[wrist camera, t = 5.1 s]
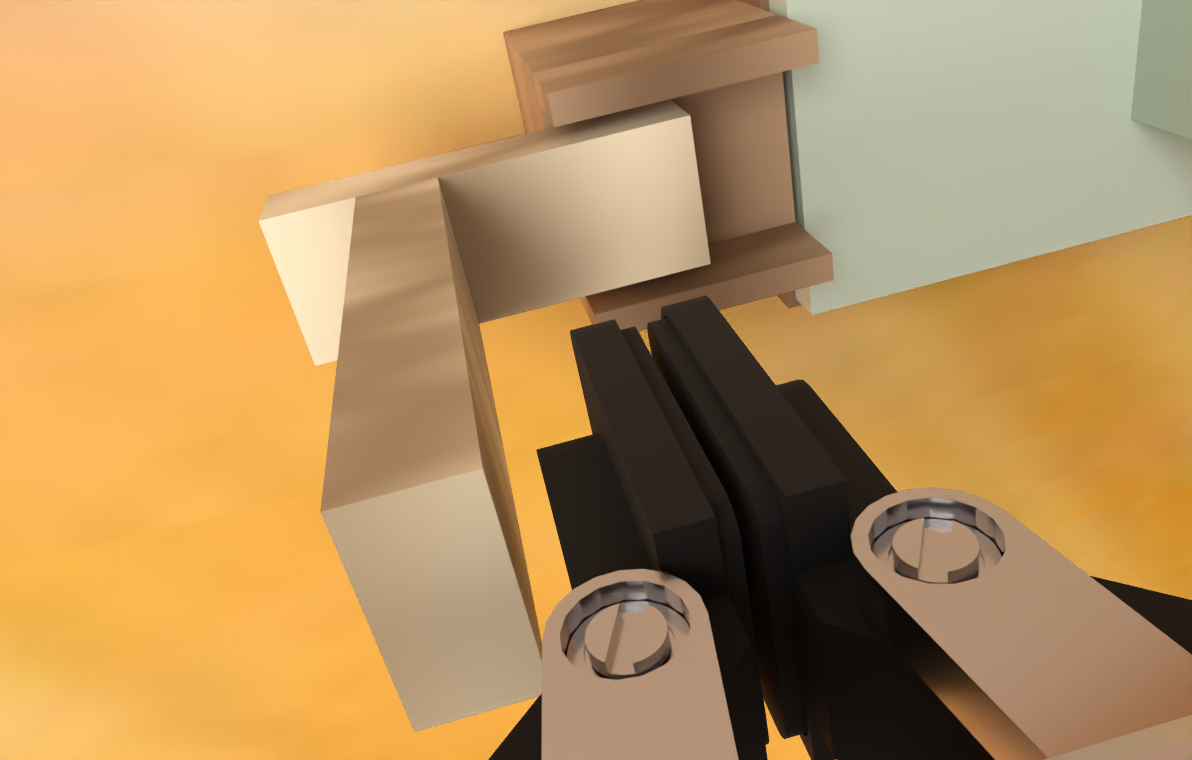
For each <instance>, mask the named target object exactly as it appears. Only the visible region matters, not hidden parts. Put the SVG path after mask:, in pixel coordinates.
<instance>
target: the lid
mask: <svg viewBox="0 0 1192 760" xmlns="http://www.w3.org/2000/svg"><path fill="white" fill-rule="evenodd" d="M769 8H770V12H771V13H774V14H777V15H780V16H782V17H785V18H788V19H791V20H794V21H797V22H799V23H802V24H805V25H808V26H811V27H813V28H816V29H817V35H818V49H819V63H817V64H813V65H808V66H804V67H800V68H796V69H792V70H788V71H784V72H782V74H783V85H784V97H785V108H786V120H787V131H788V143H789V154H790V166H791V177H792V189H793V200H794V212H795V222H796V223H797V224H798V225H800V226H801V227H802V228H803V229H804V230H805V231H807V232H808V233H809V234H810V235H811V236H813V237H814V238H815V239H816V240H817V241H818V242H820V243H821V244H822V245H823V246H824V247H825V248H827V249H828V250H829V251H830V252H831V253H832V257H833V272H834V280H832V281H828V282H824V283H821V284H817V285H813V286H809V287H805V288H802V289H798V290H795V295H796V299H797V300H798V302H799V303H800V304H801V305H802V306H803V307H804V308H805V309H806V310H807V311H808V312H809V313H810V314H811V315H815V314H819V313H823V312H827V311H830V310H834V309H838V308H842V307H846V306H849V305H853V304H857V303H861V302H865V301H868V300H872V299H876V298H880V297H884V296H887V295H891V294H895V293H899V292H902V291H906V290H910V289H914V288H918V287H921V286H925V285H929V284H933V283H937V282H940V281H944V280H948V279H952V278H955V277H959V276H963V275H967V274H971V273H974V272H978V271H982V270H986V269H990V268H993V267H997V266H1001V265H1005V264H1009V263H1012V262H1016V261H1020V260H1024V259H1027V258H1031V257H1035V256H1039V255H1043V254H1046V253H1050V252H1054V251H1058V250H1062V249H1065V248H1069V247H1073V246H1077V245H1081V244H1084V243H1088V242H1092V241H1096V240H1099V239H1103V238H1107V237H1111V236H1115V235H1118V234H1122V233H1126V232H1130V231H1134V230H1137V229H1141V228H1145V227H1149V226H1152V225H1156V224H1160V223H1164V222H1168V221H1171V220H1175V219H1179V218H1183V217H1187V216H1190V215H1192V0H769Z"/></svg>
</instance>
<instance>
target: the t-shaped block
mask: <svg viewBox="0 0 1192 760" xmlns="http://www.w3.org/2000/svg"><path fill="white" fill-rule="evenodd" d="M259 223H260V226H261V228H262V231H263V234H264V236H265V239H266V241H267V244H268V246H269V249H270V251H271V254H272V257H273V259H274V262H275V264H276V267H277V269H278V272H279V274H280V277H281V280H282V282H283V285H284V287H285V290H286V292H287V295H288V297H289V300H290V303H291V305H292V308H293V310H294V313H295V315H296V318H297V320H298V323H299V326H300V328H301V331H302V333H303V336H304V338H305V341H306V343H307V346H308V349H309V351H310V354H311V356H312V359H313V361H314V364H315V366H316V365H320V364H324V363H328V362H332V361H336V360H337V369H336V378H335V387H334V396H333V405H332V414H331V423H330V432H329V441H328V450H327V459H326V468H325V477H324V486H323V495H322V504H321V514H322V516H323V519H324V521H325V523H326V526H327V528H328V530H329V533H330V535H331V538H332V540H333V542H334V545H335V547H336V549H337V552H338V554H339V556H340V559H341V561H342V563H343V566H344V568H345V570H346V573H347V575H348V577H349V580H350V582H351V584H352V587H353V589H354V591H355V594H356V596H357V598H358V601H359V603H360V605H361V608H362V610H363V613H364V615H365V617H366V620H367V622H368V624H369V627H370V629H371V631H372V634H373V636H374V638H375V641H376V643H377V645H378V648H379V650H380V652H381V655H382V657H383V659H384V662H385V664H386V666H387V669H388V671H389V673H390V676H391V678H392V681H393V683H394V685H395V688H396V690H397V692H398V695H399V697H400V699H401V702H402V704H403V706H404V709H405V711H406V713H407V716H408V718H409V720H410V723H411V725H412V727H413V730H414V732H417V731H421V730H424V729H428V728H431V727H435V726H438V725H442V724H445V723H449V722H452V721H455V720H459V719H462V718H466V717H469V716H473V715H476V714H480V713H483V712H487V711H490V710H494V709H497V708H500V707H504V706H507V705H511V704H514V703H518V702H521V701H525V700H528V699H532V698H535V697H539V696H540V695H541V693H542V642H541V637H540V631H539V626H538V621H537V616H536V611H535V606H534V601H533V596H532V591H531V586H530V581H529V576H528V570H527V565H526V560H525V555H524V550H523V545H522V540H521V535H520V530H519V525H518V520H517V515H516V509H515V504H514V499H513V494H512V489H511V484H510V479H509V474H508V469H507V464H506V459H505V454H504V448H503V443H502V438H501V433H500V428H499V423H498V418H497V413H496V408H495V403H494V398H493V392H492V387H491V382H490V377H489V372H488V367H487V362H486V357H485V352H484V347H483V342H482V337H481V331H480V326H479V323H483V322H487V321H491V320H495V319H499V318H503V317H506V316H510V315H514V314H518V313H522V312H526V311H530V310H534V309H537V308H541V307H545V306H549V305H553V304H557V303H561V302H565V301H569V300H572V299H576V298H580V297H584V296H588V295H592V294H596V293H600V292H603V291H607V290H611V289H615V288H619V287H623V286H627V285H631V284H635V283H638V282H642V281H646V280H650V279H654V278H658V277H662V276H666V275H669V274H673V273H677V272H681V271H685V270H689V269H693V268H697V267H701V266H704V265H708V264H711V262H710V255H709V248H708V241H707V234H706V226H705V219H704V212H703V205H702V197H701V190H700V183H699V176H698V169H697V161H696V154H695V147H694V140H693V132H692V125H691V118H690V115H689V114H688V113H687V112H685V111H684V110H683V109H682V108H680V107H679V106H678V105H677V104H675V103H674V102H673V101H672V100H670V99H669V100H664V101H660V102H656V103H652V104H648V105H644V106H640V107H636V108H632V109H627V110H623V111H619V112H615V113H611V114H607V115H603V116H599V117H595V118H590V119H586V120H582V121H578V122H574V123H570V124H566V125H562V126H558V127H550V128H546V129H542V130H538V131H534V132H530V133H526V134H521V135H517V136H513V137H509V138H505V139H501V140H497V141H493V142H489V143H484V144H480V145H476V146H472V147H468V148H464V149H460V150H456V151H451V152H447V153H443V154H439V155H435V156H431V157H427V158H423V159H419V160H414V161H410V162H406V163H402V164H398V165H394V166H390V167H386V168H382V169H377V170H373V171H369V172H365V173H361V174H357V175H353V176H349V177H345V178H340V179H336V180H332V181H328V182H324V183H320V184H316V185H312V186H307V187H303V188H299V189H295V190H291V191H287V192H283V193H279V194H275V195H270V196H268V198H267V200H266V203H265V206H264V208H263V211H262V213H261V216H260V219H259Z"/></svg>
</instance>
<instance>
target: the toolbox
mask: <svg viewBox="0 0 1192 760" xmlns="http://www.w3.org/2000/svg"><path fill="white" fill-rule="evenodd" d="M503 34H504V38H505V43H506V47H507V51H508V56H509V60H510V65H511V69H512V73H513V78H514V82H515V87H516V91H517V95H518V100H519V104H520V108H521V113H522V117H523V122H524V126H525V130H526V133H530V132H534V131H538V130H542V129H546V128H550V127H558V126H562V125H566V124H570V123H574V122H578V121H582V120H586V119H590V118H595V117H599V116H603V115H607V114H611V113H615V112H619V111H623V110H627V109H632V108H636V107H640V106H644V105H648V104H652V103H656V102H660V101H664V100H669V99H670V100H672V101H673V102H674V103H675V104H677V105H678V106H679V107H680V108H682V109H683V110H684V111H685V112H687V113H688V114H689V115H690V118H691V125H692V132H693V140H694V147H695V154H696V161H697V169H698V176H699V183H700V190H701V197H702V205H703V212H704V219H705V226H706V234H707V241H708V248H709V255H710V262H711V264H708V265H704V266H701V267H697V268H693V269H689V270H685V271H681V272H677V273H673V274H669V275H666V276H662V277H658V278H654V279H650V280H646V281H642V282H638V283H635V284H631V285H627V286H623V287H619V288H615V289H611V290H607V291H603V292H600V293H596V294H592V295H588V296H584V297H580V298H581V300H582V303H583V305H584V307H585V309H586V311H587V314H588V316H589V318H590V320H591V323H592V325H594V324H598V323H601V322H605V321H609V320H613V319H615V320H616V322H617V324H618V326H619V328H620V330H622V329H626V328H630V327H633V326H635V327H636V328H637V330H638V331H641V330H645V329H647V324H648V323H649V322H653V321H657V320H660V319H661V307H663V306H667V305H671V304H675V303H679V302H682V301H686V300H690V299H694V298H698V297H702V296H708V297H709V298H710V300H711V301H712V302H713V304H714V305H715V306H716V307H717V309H718V310H721V309H725V308H729V307H733V306H737V305H740V304H744V303H748V302H752V301H756V300H759V299H763V298H767V297H771V296H775V295H777V296H778V297H779V298H780V299H781V300H782V301H783V302H784V304H785V305H786V306H787V307H788V308H791V307H795V306H799V305H801V304H800V303H799V302H798V300H797V299H796V295H795V290H798V289H802V288H805V287H809V286H813V285H817V284H821V283H824V282H828V281H832V280H834V272H833V257H832V253H831V252H830V251H829V250H828V249H827V248H825V247H824V246H823V245H822V244H821V243H820V242H818V241H817V240H816V239H815V238H814V237H813V236H811V235H810V234H809V233H808V232H807V231H805V230H804V229H803V228H802V227H801V226H800V225H798V224H797V223H796V222H795V212H794V200H793V189H792V177H791V166H790V154H789V143H788V131H787V120H786V108H785V97H784V85H783V74H782V72H784V71H788V70H792V69H796V68H800V67H804V66H808V65H813V64H817V63H819V49H818V35H817V29H816V28H813V27H811V26H808V25H805V24H802V23H799V22H797V21H794V20H791V19H788V18H785V17H782V16H780V15H777V14H774V13H771V12H770V8H769V0H639V1H635V2H631V3H626V4H622V5H618V6H614V7H609V8H605V9H601V10H596V11H592V12H588V13H584V14H579V15H575V16H571V17H567V18H562V19H558V20H554V21H550V22H545V23H541V24H537V25H532V26H528V27H524V28H520V29H515V30H511V31H507V32H503Z"/></svg>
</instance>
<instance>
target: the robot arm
mask: <svg viewBox="0 0 1192 760" xmlns="http://www.w3.org/2000/svg"><path fill="white" fill-rule="evenodd" d="M647 330H648V337H649V343H650V348H651V354H652V356H651V354H650V352H649V350H648V349H647V347H646V345H645V343H644V341H643V339H642V338H641V336H640V334H639V332H638V330H637V328H636V327H635V326H633V327H630V328H626V329H622V330H620V328H619V326H618V324H617V322H616V320H615V319H613V320H609V321H605V322H601V323H598V324H594V325H590V326H586V327H582V328H578V329H574V330H571V331H570V334H571V340H572V345H573V350H574V354H575V359H576V363H577V367H578V372H579V376H580V381H581V385H582V389H583V394H584V398H585V403H586V407H587V411H588V416H589V420H590V425H591V429H592V433H593V435H590V436H586V437H582V438H578V439H575V440H571V441H567V442H563V443H560V444H556V445H552V446H549V447H545V448H541V449H537V454H538V458H539V462H540V466H541V470H542V474H543V478H544V482H545V486H546V490H547V494H548V497H549V501H550V505H551V509H552V513H553V517H554V521H555V525H556V529H557V533H558V536H559V540H560V544H561V548H562V552H563V556H564V560H565V564H566V568H567V572H568V575H569V579H570V583H571V587H572V591H571V592H570V593H569V594H568V595H567V596H566V597H564V598H563V599H562V600H561V601H560V602H559V603H558V604H557V605H556V607H555V609H554V610H553V612H552V613H551V615H550V617H549V618H548V620H547V622H546V626H545V630H544V635H543V640H542V693H541V695H540V696H539V697H538V698H537V700H536V701H535V702H534V703H533V705H532V706H531V707H530V708H529V710H528V711H527V712H526V713H525V715H524V716H523V717H522V718H521V720H520V721H519V722H518V723H517V725H516V726H515V727H514V728H513V730H512V731H511V732H510V733H509V735H508V736H507V737H506V738H505V740H504V741H503V742H502V743H501V745H500V746H499V747H498V748H497V750H496V751H495V752H494V753H493V755H492V756H491V757H490V758H489V760H767V753H766V746H765V745H766V744H768V743H769V735H768V728H767V721H766V714H765V707H764V701H765V703H766V705H767V707H768V709H769V712H770V714H771V716H772V718H773V720H774V723H775V725H776V727H777V729H778V731H779V733H780V735H781V736H782V737H783V738H784V739H786V738H790V737H793V736H796V735H800V737H801V739H802V741H803V743H804V745H805V747H806V749H807V751H808V753H809V756H810V758H811V760H835V759H837V760H1192V600H1189V599H1184V598H1180V597H1176V596H1172V595H1168V594H1163V593H1159V592H1155V591H1151V590H1147V589H1143V588H1138V587H1134V586H1130V585H1126V584H1122V583H1117V582H1113V581H1109V580H1105V579H1101V578H1097V577H1092V576H1089V575H1088V574H1086V573H1085V572H1084V571H1083V570H1081V569H1080V568H1079V567H1077V566H1076V565H1075V564H1073V563H1072V562H1071V561H1070V560H1068V559H1067V558H1066V557H1064V556H1063V555H1062V554H1060V553H1059V552H1058V551H1057V550H1055V549H1054V548H1053V547H1051V546H1050V545H1049V544H1047V543H1046V542H1045V541H1044V540H1042V539H1041V538H1040V537H1038V536H1037V535H1036V534H1035V533H1033V532H1032V531H1031V530H1029V529H1028V528H1027V527H1025V526H1024V525H1023V524H1022V523H1020V522H1019V521H1018V520H1016V519H1015V518H1014V517H1012V516H1011V515H1010V514H1009V513H1007V512H1006V511H1005V510H1003V509H1001V508H1000V507H998V506H996V505H995V504H993V503H991V502H989V501H988V500H986V499H984V498H982V497H978V496H975V495H972V494H969V493H966V492H963V491H959V490H951V489H942V488H920V489H908V490H905V491H901V492H897V491H896V490H895V489H894V487H893V486H892V485H891V484H890V483H889V481H888V480H887V479H886V478H885V476H884V475H883V474H882V473H881V472H880V470H879V469H878V468H877V467H876V466H875V464H874V463H873V462H872V461H871V459H870V458H869V457H868V456H867V455H866V453H865V452H864V451H863V450H862V449H861V447H860V446H859V445H858V444H857V442H856V441H855V440H854V439H853V438H852V436H851V435H850V434H849V433H848V432H847V430H846V429H845V428H844V427H843V426H842V424H841V423H840V422H839V421H838V419H837V418H836V417H835V416H834V415H833V413H832V412H831V411H830V410H829V409H828V407H827V406H826V405H825V404H824V402H823V401H822V400H821V399H820V398H819V396H818V395H817V394H816V393H815V392H814V390H813V389H812V388H811V387H810V386H809V385H808V384H807V383H806V382H805V381H804V380H795V381H791V382H787V383H784V384H780V385H775V384H774V383H773V381H772V380H771V379H770V377H769V376H768V375H767V373H766V372H765V371H764V369H763V368H762V367H761V366H760V364H759V363H758V362H757V360H756V359H755V358H754V356H753V355H752V354H751V352H750V351H749V350H748V348H747V347H746V346H745V344H744V343H743V342H742V340H741V339H740V338H739V337H738V335H737V334H736V333H735V331H734V330H733V329H732V327H731V326H730V325H729V323H728V322H727V321H726V319H725V318H724V317H723V315H722V314H721V313H720V311H719V310H718V309H717V307H716V306H715V305H714V304H713V302H712V301H711V300H710V298H709V297H708V296H702V297H698V298H694V299H690V300H686V301H682V302H679V303H675V304H671V305H667V306H663V307H661V319H660V320H657V321H653V322H649V323H648V324H647ZM763 698H764V699H763Z"/></svg>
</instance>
